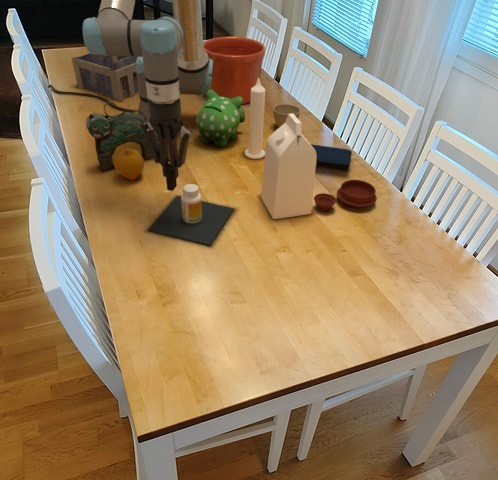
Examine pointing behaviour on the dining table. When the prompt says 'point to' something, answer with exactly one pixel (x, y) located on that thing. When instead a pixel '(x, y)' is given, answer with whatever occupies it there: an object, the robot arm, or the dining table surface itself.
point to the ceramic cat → (116, 134)
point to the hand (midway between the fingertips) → (172, 187)
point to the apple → (129, 163)
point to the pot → (235, 65)
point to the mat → (194, 232)
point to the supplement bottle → (191, 204)
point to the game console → (332, 157)
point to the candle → (256, 122)
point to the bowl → (284, 113)
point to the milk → (288, 171)
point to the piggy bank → (220, 118)
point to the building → (107, 75)
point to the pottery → (349, 195)
